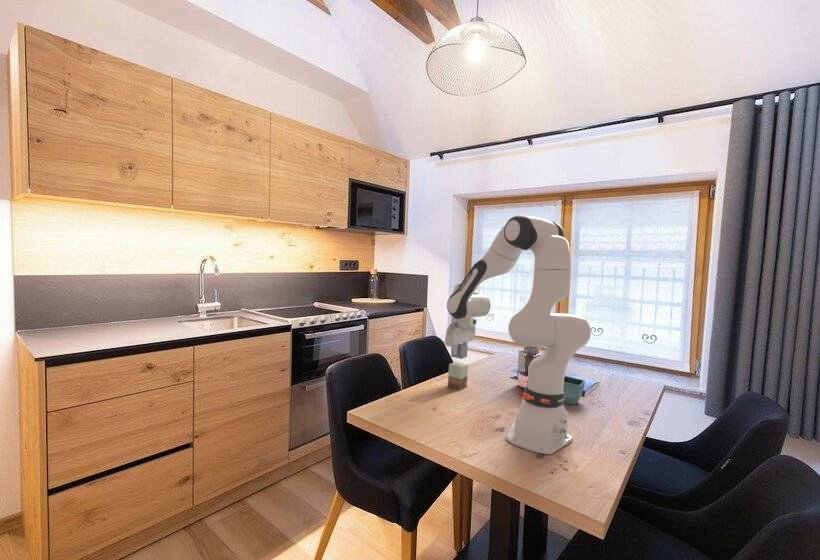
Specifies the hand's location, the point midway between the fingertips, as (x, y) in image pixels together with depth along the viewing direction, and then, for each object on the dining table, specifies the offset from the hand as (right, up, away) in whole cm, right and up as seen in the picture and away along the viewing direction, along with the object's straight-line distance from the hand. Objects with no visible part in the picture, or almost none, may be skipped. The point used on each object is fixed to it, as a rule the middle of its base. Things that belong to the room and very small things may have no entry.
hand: (459, 353), depth 163 cm
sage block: (-1, -10, +1) cm, 10 cm away
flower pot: (+43, -18, -10) cm, 48 cm away
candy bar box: (+31, -17, +3) cm, 35 cm away
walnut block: (-1, -15, +1) cm, 15 cm away
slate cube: (0, -2, 0) cm, 2 cm away
